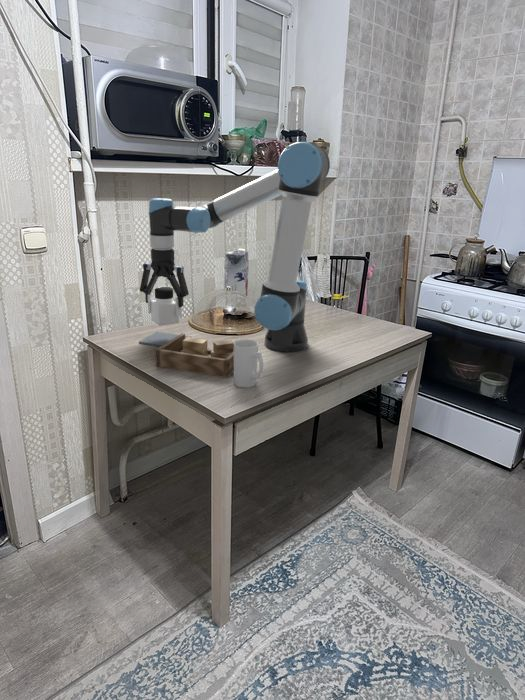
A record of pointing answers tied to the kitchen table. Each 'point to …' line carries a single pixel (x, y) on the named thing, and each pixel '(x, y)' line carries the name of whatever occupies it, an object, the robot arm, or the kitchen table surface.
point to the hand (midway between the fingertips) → (164, 314)
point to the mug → (246, 363)
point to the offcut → (195, 346)
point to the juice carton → (236, 271)
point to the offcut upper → (223, 346)
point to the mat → (159, 339)
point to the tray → (192, 359)
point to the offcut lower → (220, 355)
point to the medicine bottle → (163, 307)
